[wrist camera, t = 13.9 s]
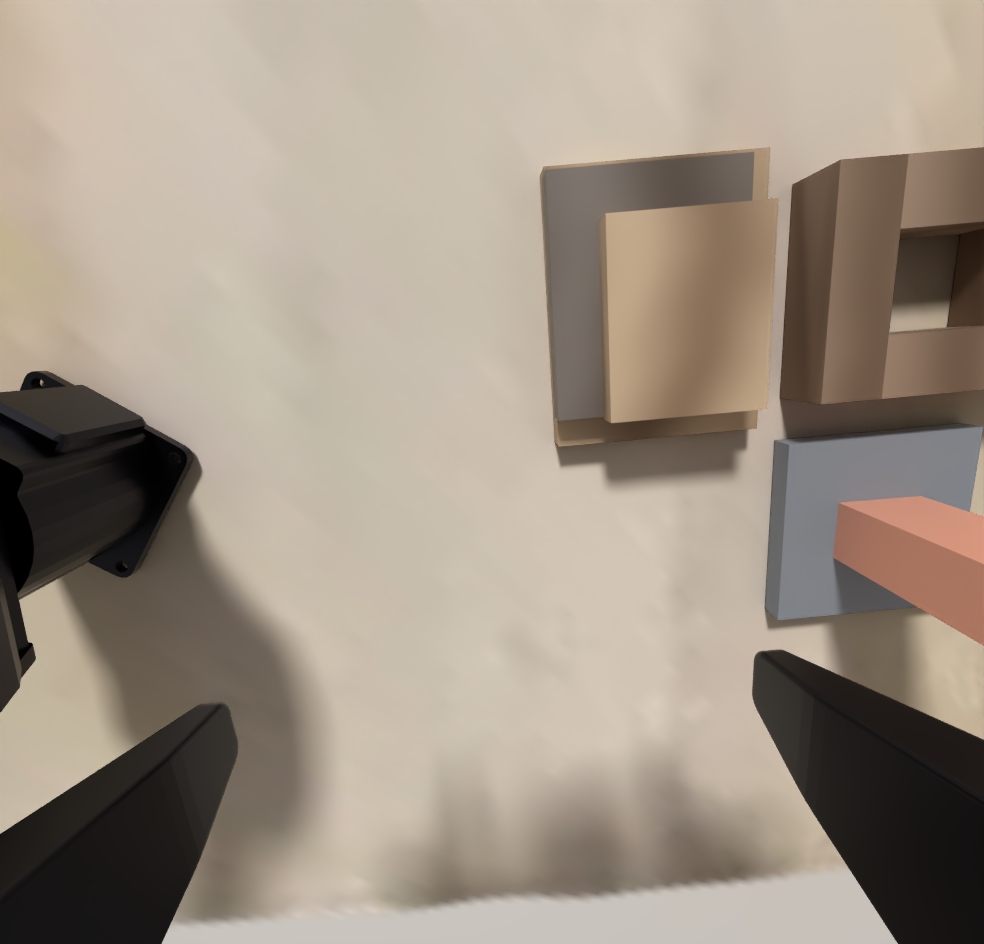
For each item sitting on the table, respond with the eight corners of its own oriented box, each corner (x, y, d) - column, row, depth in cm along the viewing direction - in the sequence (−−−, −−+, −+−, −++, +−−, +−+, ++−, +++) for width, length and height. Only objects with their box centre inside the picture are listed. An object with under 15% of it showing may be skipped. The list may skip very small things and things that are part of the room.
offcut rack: (552, 442, 20) (565, 457, 18) (537, 176, 18) (549, 143, 15) (988, 402, 21) (1072, 411, 18) (1033, 134, 18) (1138, 93, 15)
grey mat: (764, 608, 23) (777, 620, 22) (774, 440, 21) (789, 444, 20) (934, 592, 23) (954, 603, 22) (959, 423, 21) (983, 426, 20)
